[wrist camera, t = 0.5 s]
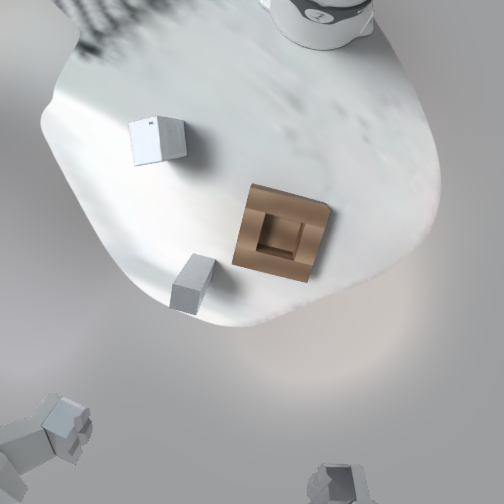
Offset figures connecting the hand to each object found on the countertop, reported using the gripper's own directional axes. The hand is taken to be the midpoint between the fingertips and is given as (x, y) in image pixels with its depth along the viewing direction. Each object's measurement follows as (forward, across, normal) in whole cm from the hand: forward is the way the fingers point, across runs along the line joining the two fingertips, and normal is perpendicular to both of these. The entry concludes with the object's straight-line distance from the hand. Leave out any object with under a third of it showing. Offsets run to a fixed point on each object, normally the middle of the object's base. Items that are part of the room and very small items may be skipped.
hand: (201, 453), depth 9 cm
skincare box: (+44, +16, -7) cm, 47 cm away
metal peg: (+44, +7, +13) cm, 46 cm away
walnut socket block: (+44, -4, +3) cm, 44 cm away
